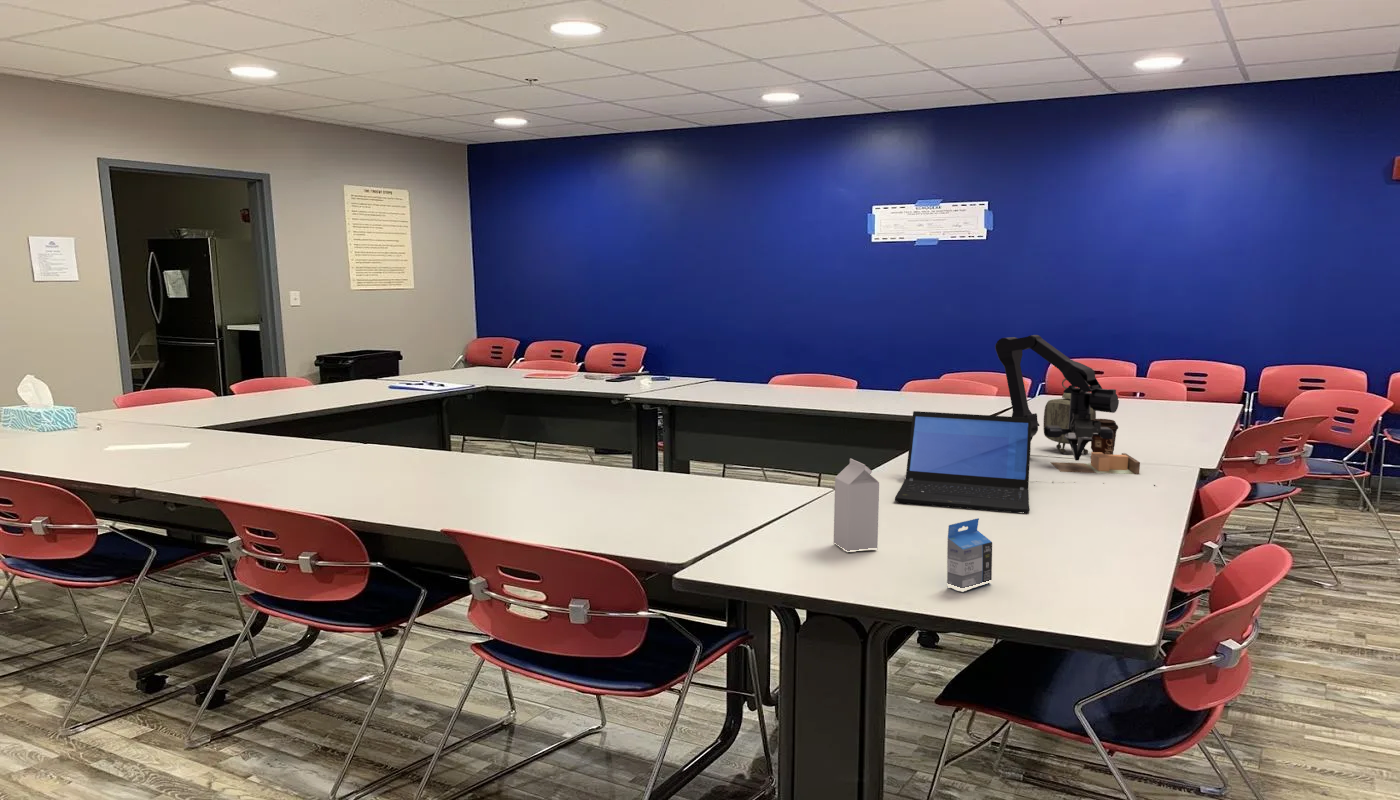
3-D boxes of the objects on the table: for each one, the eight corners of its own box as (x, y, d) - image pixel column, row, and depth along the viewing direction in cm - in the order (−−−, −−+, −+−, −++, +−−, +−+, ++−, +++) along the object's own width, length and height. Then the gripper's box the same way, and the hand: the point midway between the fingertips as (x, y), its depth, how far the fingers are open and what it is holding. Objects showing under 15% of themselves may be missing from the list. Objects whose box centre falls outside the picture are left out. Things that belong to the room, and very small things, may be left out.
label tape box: (962, 593, 175) (965, 529, 174) (944, 587, 178) (947, 524, 177) (992, 584, 180) (995, 522, 179) (974, 579, 184) (977, 517, 182)
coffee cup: (1081, 459, 303) (1083, 418, 301) (1099, 456, 306) (1102, 417, 304) (1102, 464, 295) (1105, 422, 293) (1122, 461, 298) (1124, 421, 296)
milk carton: (847, 553, 200) (849, 465, 197) (833, 544, 206) (835, 459, 204) (877, 551, 202) (880, 464, 199) (862, 542, 208) (865, 457, 206)
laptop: (893, 505, 243) (895, 430, 241) (910, 475, 279) (912, 410, 276) (1029, 516, 233) (1033, 438, 230) (1029, 484, 268) (1032, 416, 265)
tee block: (1098, 471, 279) (1099, 457, 279) (1090, 464, 288) (1091, 452, 288) (1130, 472, 278) (1131, 458, 277) (1121, 465, 287) (1122, 453, 286)
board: (1060, 474, 278) (1061, 459, 278) (1049, 465, 292) (1050, 451, 292) (1139, 477, 275) (1139, 462, 275) (1124, 467, 289) (1125, 453, 288)
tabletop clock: (1094, 454, 309) (1098, 379, 306) (1075, 457, 305) (1079, 380, 302) (1057, 447, 322) (1061, 374, 318) (1039, 450, 317) (1043, 376, 314)
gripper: (1053, 412, 275) (1050, 464, 277) (1120, 413, 273) (1117, 466, 275) (1045, 406, 286) (1042, 457, 288) (1109, 408, 284) (1106, 459, 286)
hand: (1076, 460), depth 284 cm, fingers closed
